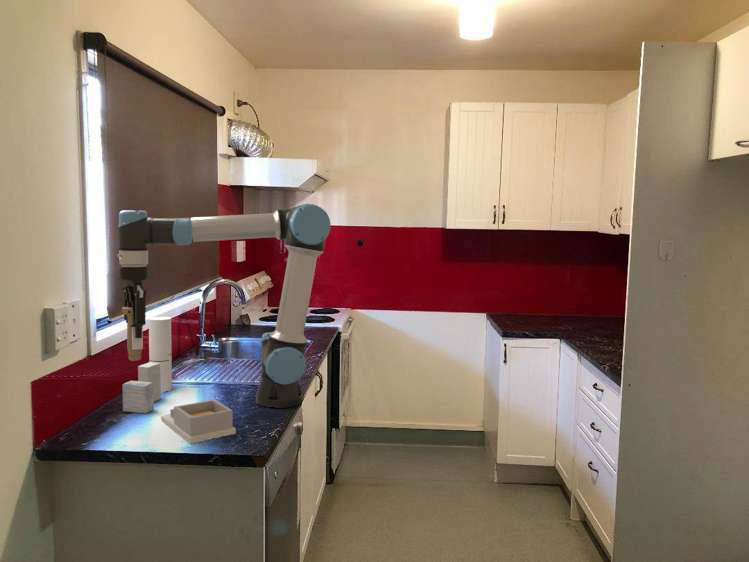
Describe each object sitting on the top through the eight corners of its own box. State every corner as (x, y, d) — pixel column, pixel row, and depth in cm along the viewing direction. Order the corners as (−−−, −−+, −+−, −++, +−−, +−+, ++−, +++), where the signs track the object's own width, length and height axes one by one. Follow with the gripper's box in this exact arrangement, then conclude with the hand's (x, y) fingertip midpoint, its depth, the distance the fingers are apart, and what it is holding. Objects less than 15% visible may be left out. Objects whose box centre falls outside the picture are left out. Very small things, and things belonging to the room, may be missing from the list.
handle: (129, 357, 170) (128, 306, 168) (149, 358, 169) (149, 307, 167) (119, 361, 165) (118, 308, 164) (140, 362, 164) (139, 309, 163)
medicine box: (154, 409, 181) (153, 382, 180) (145, 414, 177) (145, 386, 176) (131, 407, 183) (131, 380, 182) (122, 411, 179) (121, 383, 178)
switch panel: (203, 412, 180) (203, 391, 179) (235, 433, 162) (235, 410, 162) (161, 420, 171) (161, 398, 171) (190, 443, 154) (189, 419, 154)
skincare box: (150, 397, 193) (149, 361, 192) (161, 398, 192) (160, 362, 191) (137, 402, 187) (137, 365, 186) (149, 404, 186) (148, 367, 185)
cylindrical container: (175, 387, 205) (175, 317, 202) (164, 393, 198) (164, 320, 195) (156, 386, 206) (156, 316, 204) (145, 392, 199) (144, 319, 197)
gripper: (111, 263, 169) (112, 343, 171) (129, 268, 155) (130, 354, 158) (138, 263, 173) (139, 341, 176) (157, 267, 160) (158, 351, 162)
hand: (135, 347), depth 167 cm, fingers closed on handle, 4 cm apart
